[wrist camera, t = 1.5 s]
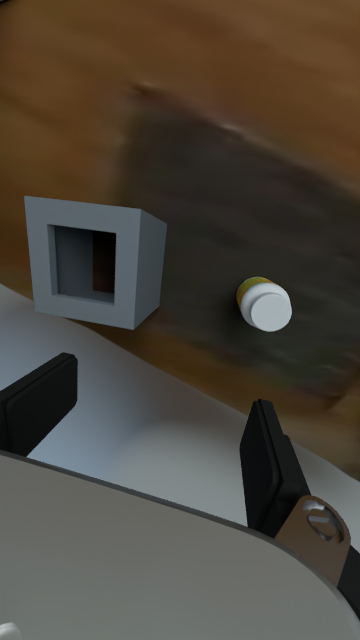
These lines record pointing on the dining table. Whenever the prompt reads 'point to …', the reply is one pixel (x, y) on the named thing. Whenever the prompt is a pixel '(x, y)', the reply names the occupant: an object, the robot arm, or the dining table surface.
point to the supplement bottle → (264, 304)
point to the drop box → (77, 261)
